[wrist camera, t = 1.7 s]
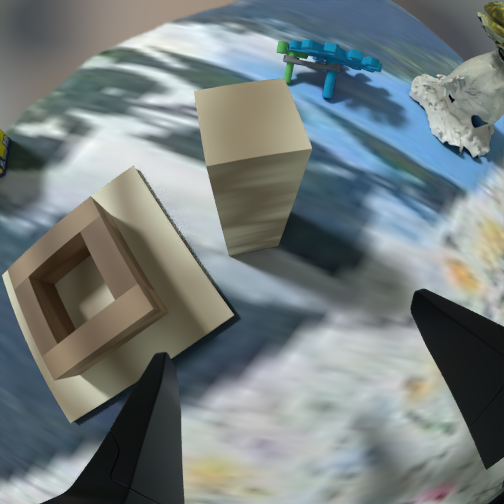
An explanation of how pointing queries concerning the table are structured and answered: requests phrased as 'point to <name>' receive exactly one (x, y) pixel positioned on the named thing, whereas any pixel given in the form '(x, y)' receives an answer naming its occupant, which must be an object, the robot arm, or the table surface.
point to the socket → (109, 295)
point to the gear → (324, 52)
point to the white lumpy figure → (468, 92)
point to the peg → (252, 159)
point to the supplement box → (3, 151)
